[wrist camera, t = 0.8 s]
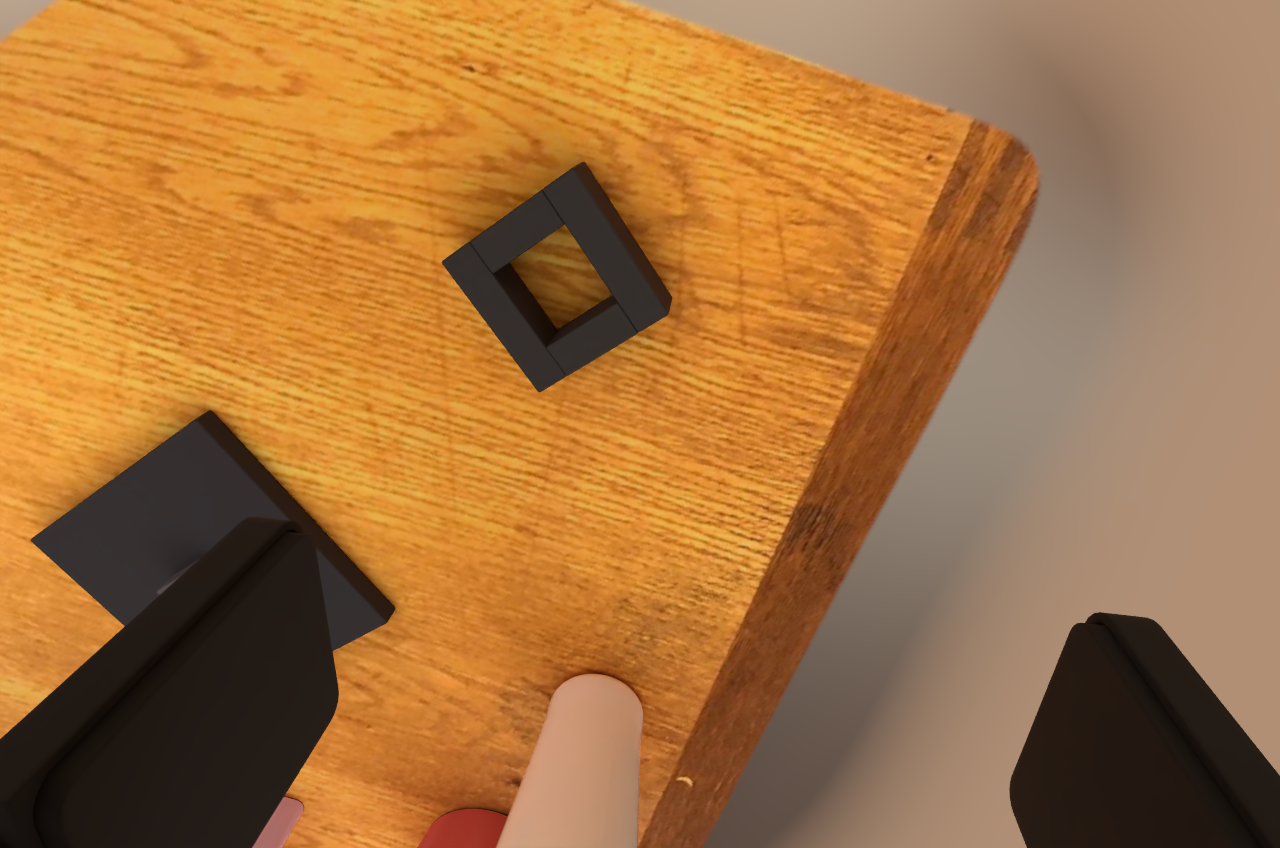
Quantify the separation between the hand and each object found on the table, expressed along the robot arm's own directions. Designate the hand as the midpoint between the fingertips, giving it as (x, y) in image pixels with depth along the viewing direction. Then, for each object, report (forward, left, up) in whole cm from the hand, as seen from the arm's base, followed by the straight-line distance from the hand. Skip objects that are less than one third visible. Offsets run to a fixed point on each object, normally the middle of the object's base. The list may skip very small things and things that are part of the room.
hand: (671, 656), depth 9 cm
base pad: (0, -32, -23) cm, 39 cm away
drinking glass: (+18, -19, -24) cm, 35 cm away
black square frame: (-3, -6, -23) cm, 24 cm away
